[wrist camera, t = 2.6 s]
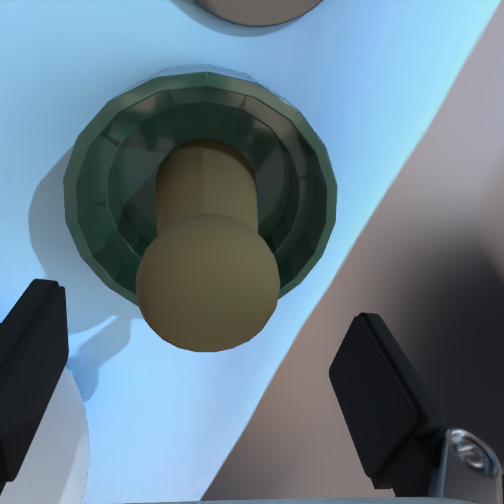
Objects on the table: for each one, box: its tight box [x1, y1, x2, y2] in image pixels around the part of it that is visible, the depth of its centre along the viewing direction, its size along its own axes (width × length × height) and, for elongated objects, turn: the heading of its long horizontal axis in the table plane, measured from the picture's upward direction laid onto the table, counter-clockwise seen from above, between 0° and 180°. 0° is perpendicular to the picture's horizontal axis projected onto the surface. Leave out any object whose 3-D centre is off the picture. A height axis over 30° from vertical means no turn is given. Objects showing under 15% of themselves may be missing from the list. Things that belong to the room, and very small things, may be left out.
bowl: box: [63, 64, 337, 306], centre depth 19 cm, size 13×13×4 cm
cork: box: [136, 139, 280, 352], centre depth 16 cm, size 6×6×11 cm
